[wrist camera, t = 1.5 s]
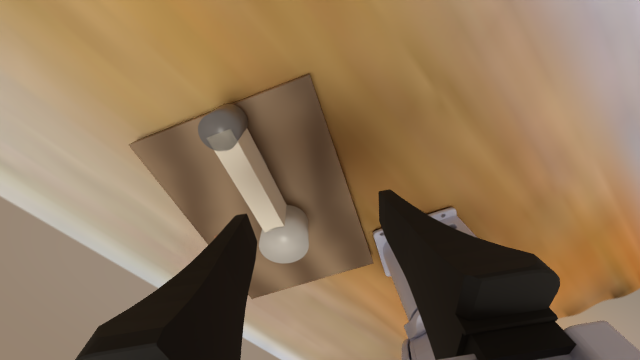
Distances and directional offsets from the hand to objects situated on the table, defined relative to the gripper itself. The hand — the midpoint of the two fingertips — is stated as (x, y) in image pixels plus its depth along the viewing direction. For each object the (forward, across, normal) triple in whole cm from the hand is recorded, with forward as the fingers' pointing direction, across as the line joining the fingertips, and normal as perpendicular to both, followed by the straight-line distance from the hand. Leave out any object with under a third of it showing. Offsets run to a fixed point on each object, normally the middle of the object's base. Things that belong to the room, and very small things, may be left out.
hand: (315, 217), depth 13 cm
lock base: (+10, +5, +6) cm, 13 cm away
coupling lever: (+9, +4, +2) cm, 10 cm away
